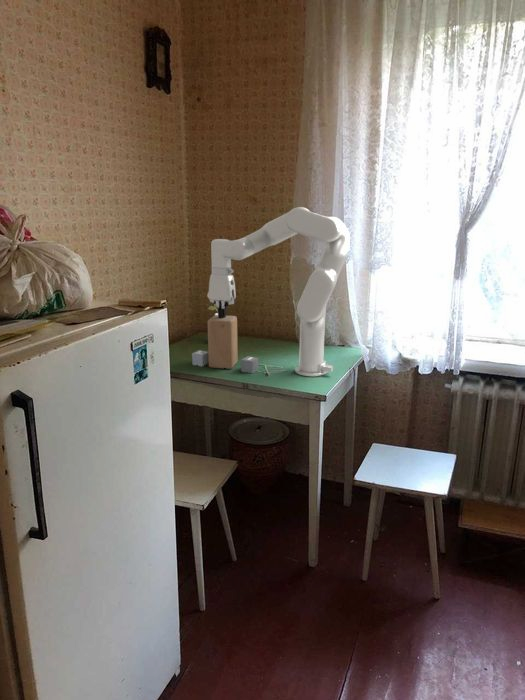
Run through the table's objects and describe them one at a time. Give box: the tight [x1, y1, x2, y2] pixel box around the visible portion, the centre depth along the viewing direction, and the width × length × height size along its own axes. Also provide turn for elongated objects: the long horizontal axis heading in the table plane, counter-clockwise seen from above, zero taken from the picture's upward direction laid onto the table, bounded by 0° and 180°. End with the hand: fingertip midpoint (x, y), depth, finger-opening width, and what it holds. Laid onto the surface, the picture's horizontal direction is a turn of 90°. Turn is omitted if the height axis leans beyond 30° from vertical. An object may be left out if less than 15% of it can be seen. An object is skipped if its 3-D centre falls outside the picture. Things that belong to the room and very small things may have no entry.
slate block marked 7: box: [191, 349, 209, 367], centre depth 215 cm, size 5×5×5 cm
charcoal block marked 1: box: [240, 355, 260, 374], centre depth 207 cm, size 5×5×5 cm
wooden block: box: [207, 314, 239, 370], centre depth 211 cm, size 10×10×20 cm
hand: (222, 317), depth 209 cm, fingers closed
